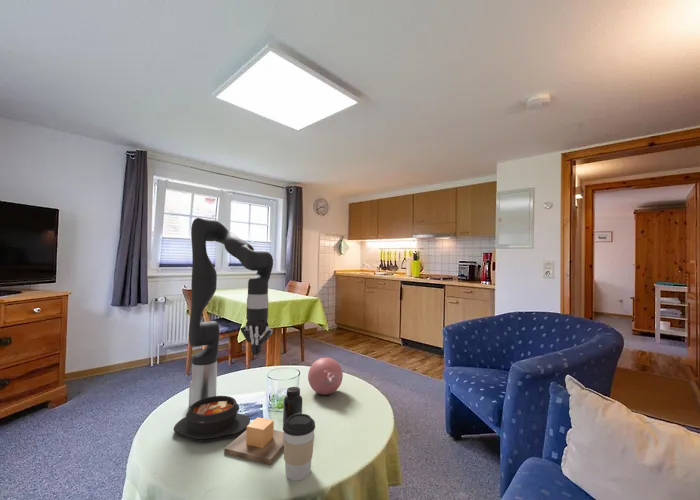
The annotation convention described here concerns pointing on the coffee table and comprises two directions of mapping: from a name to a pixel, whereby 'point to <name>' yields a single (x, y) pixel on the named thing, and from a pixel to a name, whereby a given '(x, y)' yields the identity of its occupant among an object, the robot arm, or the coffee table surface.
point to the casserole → (212, 418)
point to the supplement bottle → (292, 403)
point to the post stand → (257, 448)
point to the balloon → (325, 376)
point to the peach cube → (259, 432)
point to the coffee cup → (298, 445)
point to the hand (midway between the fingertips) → (256, 354)
